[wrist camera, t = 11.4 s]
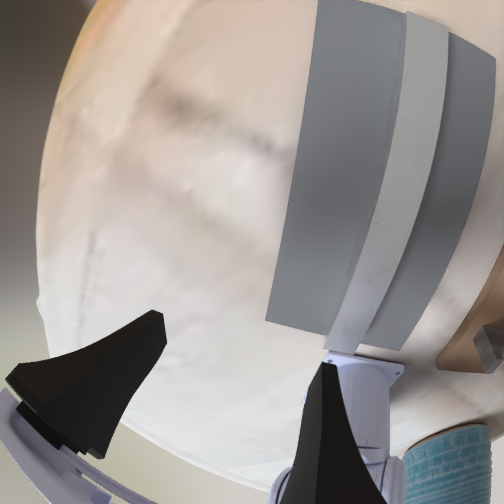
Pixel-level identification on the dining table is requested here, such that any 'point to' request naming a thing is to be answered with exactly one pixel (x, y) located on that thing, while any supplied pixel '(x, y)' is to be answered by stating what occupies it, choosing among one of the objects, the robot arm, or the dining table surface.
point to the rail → (394, 179)
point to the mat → (373, 171)
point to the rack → (480, 330)
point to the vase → (450, 467)
